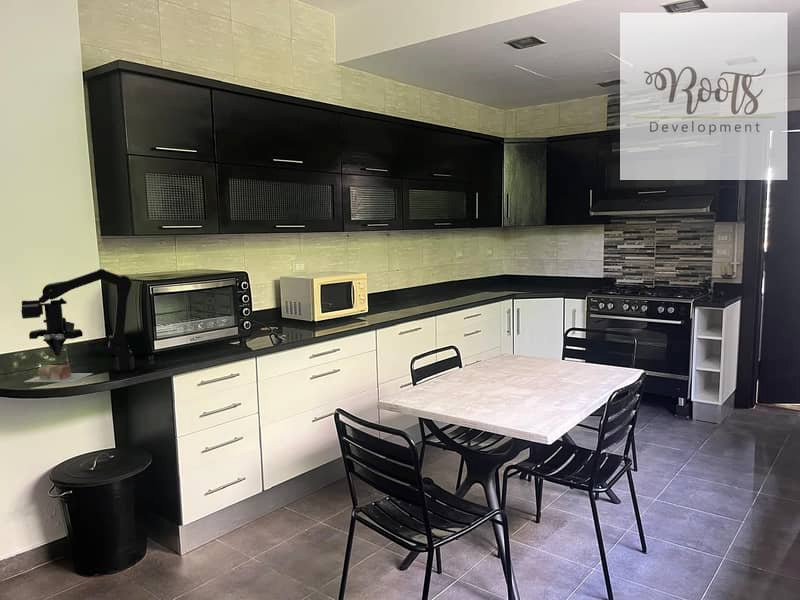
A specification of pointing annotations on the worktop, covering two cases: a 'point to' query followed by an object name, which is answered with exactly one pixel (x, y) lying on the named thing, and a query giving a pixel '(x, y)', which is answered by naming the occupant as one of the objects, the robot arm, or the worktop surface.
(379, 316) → the worktop surface
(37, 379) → the board
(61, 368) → the maple block
